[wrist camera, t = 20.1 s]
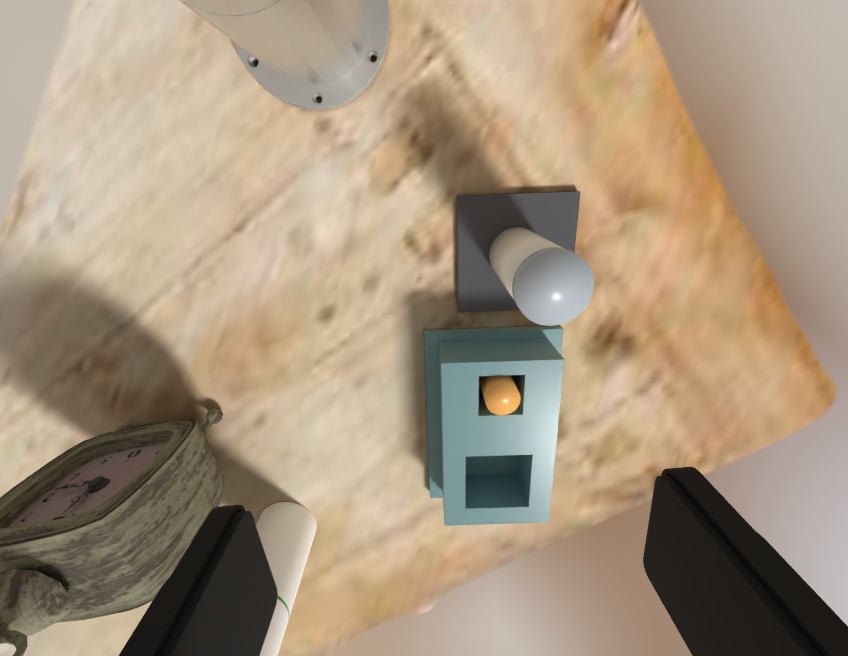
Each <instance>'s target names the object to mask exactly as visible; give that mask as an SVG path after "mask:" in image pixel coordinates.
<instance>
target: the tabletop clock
mask: <svg viewBox="0 0 848 656" xmlns="http://www.w3.org/2000/svg"><path fill="white" fill-rule="evenodd" d="M222 416H223V413H222V412H221V411H220V410H219V409H212V410H210V411H208V413H207V416H206V419H207V422H206V423H205V424H204V425H203V426H202V427H200V425H199V423H198V421H197V420H195V419H179V420H172V421H165V422H159V423H152V424H146V425H141V426H137V427H132V428H131V427H129V426H121V427H119V428H118V429H117V430H116V431H115V432H110V433H107V434H103V435H100V436H97V437H94V438H91V439H88V440H85V441H83V442H81V443H79V444H78V445H76V446H74V447H72V448H71V449H69V450H67V451H66V452H64V453H63V454H61V455H59V456H58V457H56V458H55V459H53V460H52V461H50V462H49V463H47V464H46V465H44V466H43V467H42V468H40V469H39V470H37V471H36V472H35V473H33V474H32V475H30V476H29V477H27V478H26V479H25V480H23V481H22V482H20V483H19V484H18V485H16V486H15V487H13V488H12V489H11V490H10V491H8V492H7V493H6V494H4V495H3V496H2V497H1V498H0V644H1V643H8V644H12V645H15V647H16V649H17V650H16V652H15V654H14V655H13V656H23V654H24V652H25V650H26V648H27V636H29V635H32V634H35V633H37V632H39V631H41V630H43V629H45V628H47V627H49V626H50V625H52V624H54V623H57V622H67V621H77V620H86V619H91V618H96V617H101V616H105V615H110V614H115V613H120V612H125V611H129V610H132V609H135V608H138V607H141V606H143V605H145V604H147V603H149V602H151V601H153V600H154V598H155V597H156V595H157V593H158V592H159V590H160V589H161V587H162V586H163V584H164V583H165V582H166V580H167V579H168V578H170V576H171V574H172V573H173V571H174V569H175V568H176V566H177V565H178V563H179V561H180V560H181V558H182V557H183V555H184V553H185V552H186V550H187V548H188V547H189V545H190V544H191V542H192V540H193V539H194V537H195V535H196V534H197V532H198V531H199V529H200V527H201V526H202V524H203V522H204V521H205V519H206V518H207V516H208V514H209V513H210V512H211V510H212V509H213V508H215V507H219V504H220V500H221V495H222V490H223V485H224V475H223V473H222V471H221V469H220V467H219V465H218V463H217V461H216V459H215V457H214V455H213V452H212V450H211V448H210V446H209V444H208V442H207V440H206V438H205V436H204V435H205V434H206V432H207V430H208V429H209V427H210V426H211V424H216V423H218V422H220V421H221V419H222Z"/></svg>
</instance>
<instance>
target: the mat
mask: <svg viewBox="0 0 848 656" xmlns="http://www.w3.org/2000/svg"><path fill="white" fill-rule="evenodd" d="M579 200H580V191H573V192H546V193H519V194H491V195H464V196H457V258H458V312H480V311H509V310H520V309H519V308H518V306H517V305H516V303H515V301H514V299H513V298H512V296H511V295H510V293H509V292H508V290H507V289H506V287H505V286H504V285H503V283H502V282H501V280H500V279H499V277H498V276H497V274H496V273H495V272H494V270H493V269H492V267H491V264H490V260H489V252H490V248H491V245H492V243H493V241H494V240H495V238H496V237H497V236H498V235H499V234H500V233H502V232H503V231H505V230H507V229H510V228H515V227H520V228H525V229H528V230H530V231H532V232H534V233H536V234H538V235H540V236H541V237H543V238H545V239H547V240H549V241H551V242H553V243H555V244H557V245H558V246H560V247H562V248H564V249H567V250H569V251H571V252H573V253H574V251H575V241H576V231H577V220H578V210H579Z"/></svg>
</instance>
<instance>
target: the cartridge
mask: <svg viewBox="0 0 848 656" xmlns="http://www.w3.org/2000/svg"><path fill="white" fill-rule="evenodd" d="M489 260H490V264H491V267H492V269H493V270H494V272H495V273H496V274H497V276H498V277H499V279H500V280H501V282H502V283H503V285H504V286H505V287H506V289H507V290H508V292H509V293H510V295H511V296H512V298H513V299H514V301H515V303H516V305H517V306H518V308H519V309H520V311H521V312H522V313H523V314H524V316H525V317H527V318H528V319H529V320H531V321H533V322H535V323H537V324H540V325H546V326H554V325H560V324H564V323H566V322H569V321H571V320H572V319H574V318H575V317H577V316H578V315H579V314H580V313H581V312H582V311H583V310H584V309H585V308H586V307H587V305H588V303H589V302H590V299H591V297H592V294H593V290H594V277H593V273H592V271H591V268H590V267H589V265H588V264H587V262H586V261H585V260H584V259H583V258H582V257H580V256H579V255H577V254H575V253H573V252H571V251H569V250H567V249H564V248H562V247H560V246H558V245H557V244H555V243H553V242H551V241H549V240H547V239H545V238H543V237H541V236H540V235H538V234H536V233H534V232H532V231H530V230H528V229H525V228H520V227H515V228H510V229H507V230H505V231H503V232H502V233H500V234H499V235H498V236H497V237H496V238H495V240H494V241H493V243H492V245H491V248H490V252H489Z"/></svg>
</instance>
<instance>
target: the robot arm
mask: <svg viewBox="0 0 848 656" xmlns="http://www.w3.org/2000/svg"><path fill="white" fill-rule="evenodd" d="M179 1H180V2H182V3H183V4H184V5H186V6H187V7H188V8H190V9H191V10H192V11H194V12H195V13H196V14H198V15H199V16H200V17H202V18H203V19H204V20H206V21H207V22H208V23H210V24H211V25H212V26H214V27H215V28H216V29H218V30H219V31H220V32H222V33H223V34H224V35H226V36H227V37H228V38H230V39H231V40H232V41H233V43H234V45H235V48H236V50H237V53H238V55H239V57H240V59H241V60H242V62H243V63H244V65H245V67H246V68H247V70H248V71H249V73H250V74H251V75H252V76H253V77H254V78H255V80H256V81H257V82H258V83H259V84H260V85H261V86H262V87H263V88H264V89H266V90H267V91H268V92H269V93H270V94H272V95H273V96H275V97H276V98H278V99H280V100H281V101H283V102H285V103H287V104H290V105H292V106H294V107H296V108H301V109H305V110H309V111H327V110H332V109H337V108H340V107H342V106H344V105H346V104H349V103H351V102H352V101H354V100H355V99H356V98H358V97H359V96H361V95H362V94H363V93H364V92H365V91H366V90H367V89H368V88H369V86H370V85H371V84H372V83H373V82H374V80H375V78H376V77H377V75H378V73H379V72H380V70H381V68H382V65H383V62H384V60H385V57H386V54H387V50H388V45H389V40H390V24H391V17H390V9H389V1H388V0H179ZM373 56H375V57H376V58H377V60H376V62H372V61H371V58H372V57H373ZM256 61H259V63H258V66H257V67H255V62H256ZM318 97H321V98H322V102H321V103H318V102H317V98H318ZM643 563H644V568H645V571H646V574H647V576H648V578H649V580H650V582H651V583H652V585H653V587H654V589H655V590H656V592H657V594H658V596H659V597H660V599H661V601H662V603H663V604H664V606H665V608H666V610H667V611H668V613H669V615H670V617H671V619H672V620H673V622H674V624H675V625H676V627H677V629H678V631H679V633H680V634H681V636H682V638H683V640H684V641H685V643H686V645H687V647H688V648H689V650H690V652H691V654H692V655H693V656H848V626H847V625H846V624H845V623H844V622H843V621H842V620H841V619H840V618H839V617H838V616H837V615H836V614H835V613H834V612H833V610H832V609H831V608H830V607H829V606H828V605H827V604H826V603H825V602H824V601H823V600H822V599H821V598H820V597H819V596H818V595H817V594H816V593H815V591H814V590H812V588H811V587H810V586H809V585H808V584H807V583H806V582H805V581H804V580H803V579H802V578H801V577H800V576H799V575H798V574H797V572H795V570H794V569H793V568H792V567H791V566H790V565H789V564H788V563H787V562H786V561H785V560H784V559H783V558H782V557H781V556H780V555H779V553H778V552H777V551H776V550H775V549H774V548H773V547H772V546H771V545H770V544H769V543H768V542H767V541H766V540H765V539H764V538H763V537H762V536H761V535H760V534H758V533H757V532H756V531H755V530H754V529H753V528H752V527H751V526H750V525H749V524H748V523H747V522H746V521H745V520H744V519H743V518H742V517H741V515H739V514H738V512H737V511H736V510H735V509H734V508H733V507H732V506H731V505H730V504H729V503H728V502H727V501H726V499H725V498H724V497H723V496H722V495H721V494H720V493H719V492H718V491H717V490H716V489H715V488H714V487H713V486H712V485H711V484H710V482H709V481H708V480H707V479H706V478H705V477H704V476H703V475H702V474H701V473H700V472H699V471H698V470H697V469H696V468H693V467H683V468H671V469H664V470H663V472H662V475H661V476H658V477H657V478H656V480H655V486H654V492H653V499H652V506H651V512H650V519H649V526H648V531H647V538H646V544H645V551H644V557H643ZM277 595H278V594H277V587H276V584H275V581H274V578H273V575H272V572H271V569H270V566H269V563H268V560H267V557H266V554H265V551H264V548H263V546H262V543H261V540H260V537H259V534H258V531H257V528H256V525H255V522H254V519H253V516H252V514H251V512H250V511H245V509H244V507H243V506H242V505H233V506H221V507H215V508H213V509H212V510H211V512H210V513H209V514H208V516H207V518H206V519H205V521H204V522H203V524H202V526H201V527H200V529H199V531H198V532H197V534H196V535H195V537H194V539H193V540H192V542H191V544H190V545H189V547H188V548H187V550H186V552H185V553H184V555H183V557H182V558H181V560H180V561H179V563H178V565H177V566H176V568H175V569H174V571H173V573H172V574H171V576H170V578H168V579H167V580H166V582H165V583H164V584H163V586H162V587H161V589H160V590H159V592H158V593H157V595H156V597H155V598H154V600H153V601H152V603H151V605H150V606H149V608H148V609H147V611H146V613H145V614H144V616H143V617H142V619H141V621H140V622H139V624H138V626H137V627H136V629H135V630H134V632H133V634H132V635H131V637H130V638H129V640H128V642H127V643H126V645H125V646H124V648H123V650H122V651H121V653H120V654H119V656H260V653H261V650H262V647H263V644H264V641H265V638H266V635H267V632H268V629H269V626H270V623H271V619H272V616H273V613H274V610H275V607H276V603H277Z"/></svg>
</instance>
